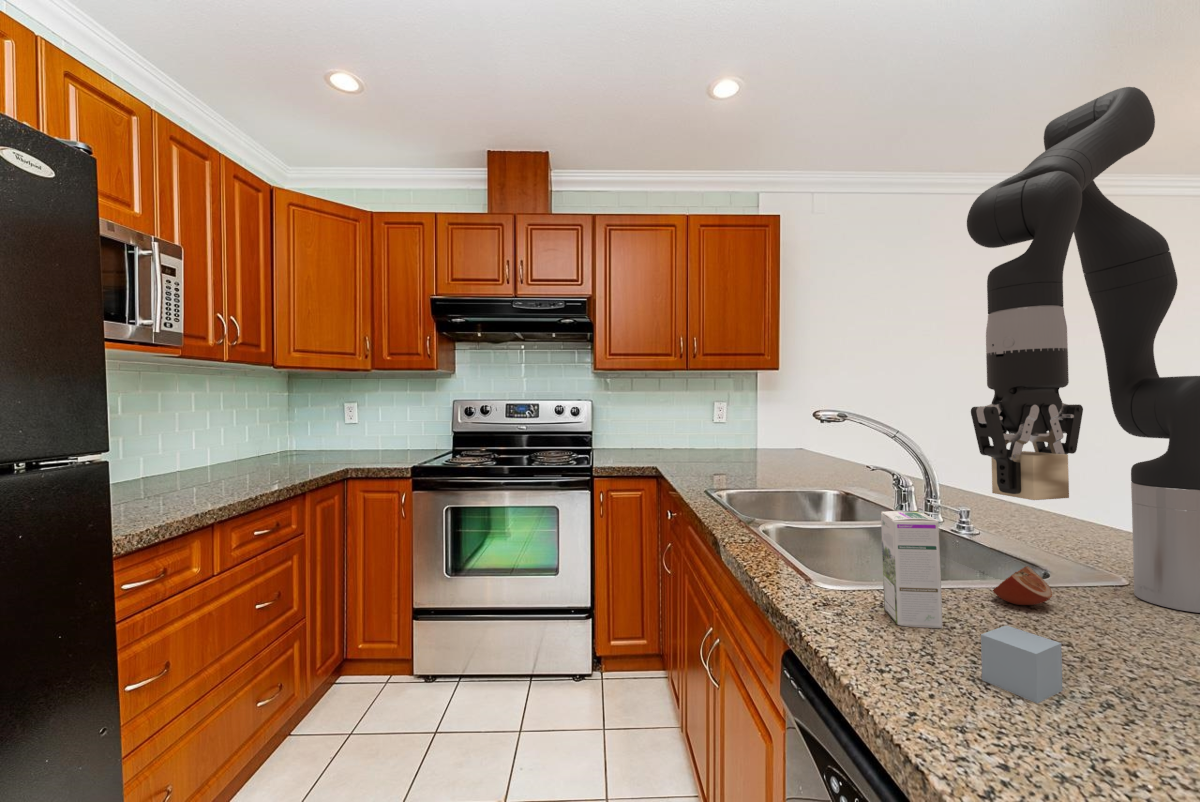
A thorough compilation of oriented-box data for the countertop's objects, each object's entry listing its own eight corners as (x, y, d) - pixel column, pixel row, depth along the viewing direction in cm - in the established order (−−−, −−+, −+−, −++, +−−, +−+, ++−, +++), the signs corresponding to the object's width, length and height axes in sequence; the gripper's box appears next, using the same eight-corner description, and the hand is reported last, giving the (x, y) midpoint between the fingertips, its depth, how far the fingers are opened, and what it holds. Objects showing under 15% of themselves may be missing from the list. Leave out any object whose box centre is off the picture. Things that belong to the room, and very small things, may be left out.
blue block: (1007, 669, 58) (1006, 625, 58) (1062, 691, 54) (1061, 643, 54) (981, 680, 56) (980, 634, 56) (1037, 704, 52) (1036, 653, 52)
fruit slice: (1004, 591, 82) (1003, 559, 82) (1059, 603, 77) (1058, 570, 77) (985, 604, 77) (984, 570, 77) (1043, 618, 72) (1042, 582, 72)
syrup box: (944, 629, 69) (942, 519, 69) (895, 626, 70) (893, 518, 70) (926, 612, 74) (924, 510, 74) (881, 609, 75) (879, 509, 76)
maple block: (1025, 491, 65) (1024, 451, 65) (1069, 498, 60) (1067, 454, 60) (992, 493, 64) (991, 452, 64) (1033, 500, 59) (1032, 456, 59)
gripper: (1041, 352, 67) (1045, 484, 67) (947, 352, 64) (951, 489, 64) (1108, 345, 60) (1113, 493, 59) (1006, 344, 57) (1010, 500, 57)
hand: (1029, 491), depth 62 cm, fingers closed on maple block, 5 cm apart
